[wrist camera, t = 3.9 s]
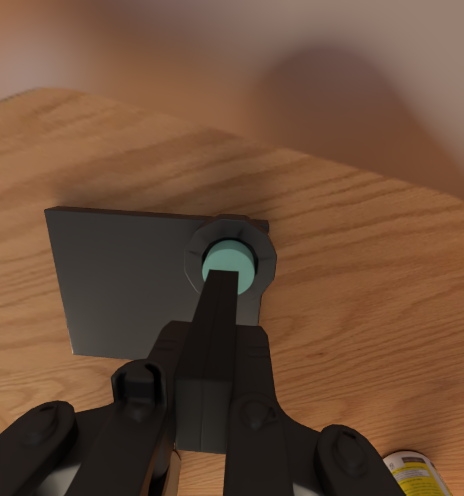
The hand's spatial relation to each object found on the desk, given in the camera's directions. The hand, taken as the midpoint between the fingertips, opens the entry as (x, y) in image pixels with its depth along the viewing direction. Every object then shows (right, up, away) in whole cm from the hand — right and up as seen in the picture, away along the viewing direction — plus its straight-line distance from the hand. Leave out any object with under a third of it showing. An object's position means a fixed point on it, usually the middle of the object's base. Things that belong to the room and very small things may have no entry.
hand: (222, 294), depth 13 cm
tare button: (0, +1, +4) cm, 4 cm away
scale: (-5, -1, +8) cm, 10 cm away
